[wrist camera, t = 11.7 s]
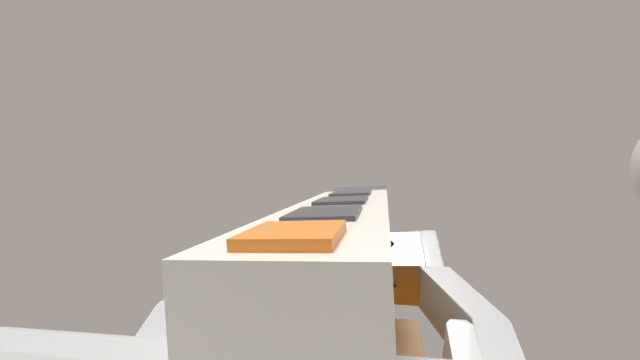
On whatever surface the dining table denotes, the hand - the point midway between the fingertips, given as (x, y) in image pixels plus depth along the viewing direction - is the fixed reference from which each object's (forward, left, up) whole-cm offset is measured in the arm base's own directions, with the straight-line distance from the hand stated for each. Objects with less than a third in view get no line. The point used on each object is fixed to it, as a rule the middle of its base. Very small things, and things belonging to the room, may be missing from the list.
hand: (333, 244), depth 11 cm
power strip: (0, -6, -2) cm, 6 cm away
